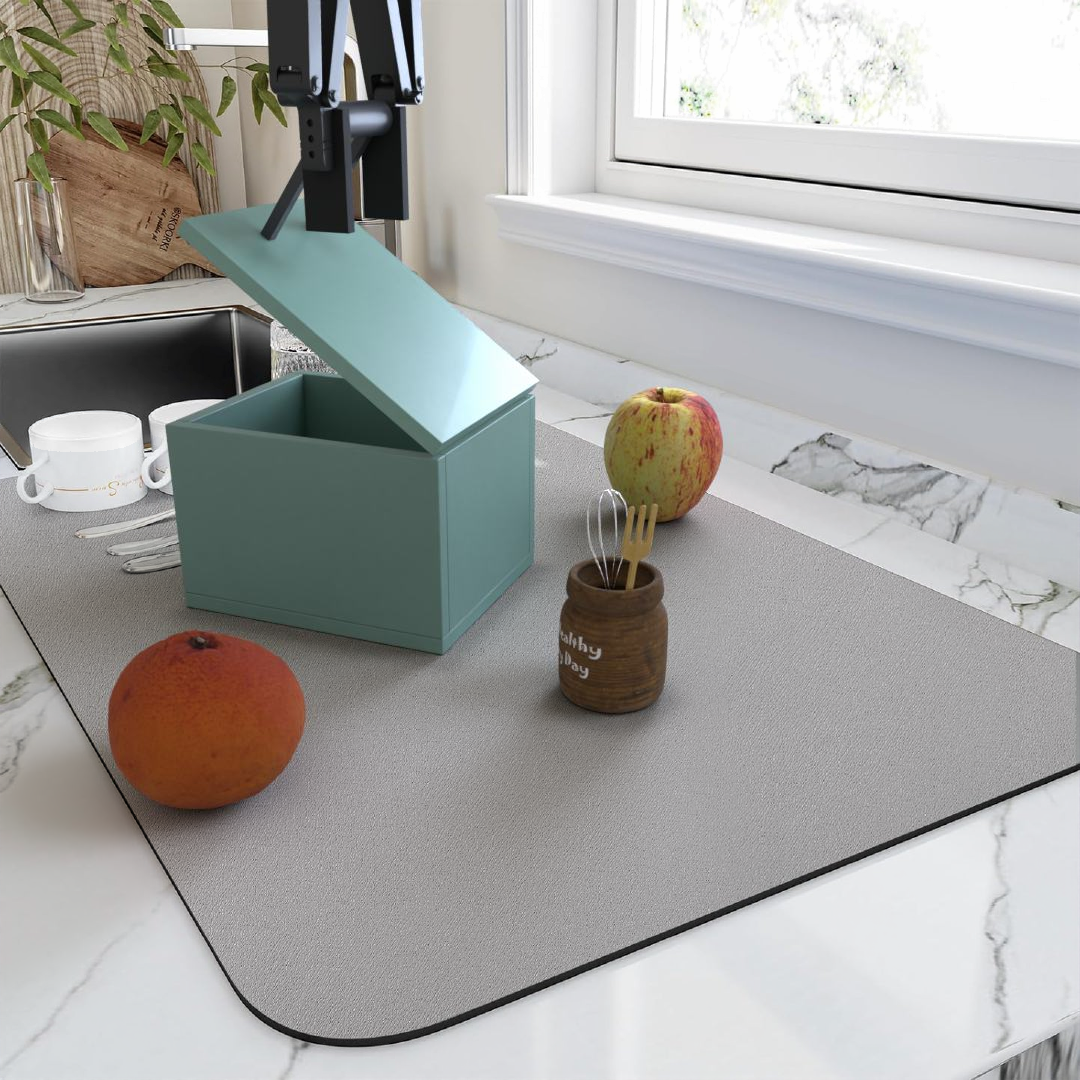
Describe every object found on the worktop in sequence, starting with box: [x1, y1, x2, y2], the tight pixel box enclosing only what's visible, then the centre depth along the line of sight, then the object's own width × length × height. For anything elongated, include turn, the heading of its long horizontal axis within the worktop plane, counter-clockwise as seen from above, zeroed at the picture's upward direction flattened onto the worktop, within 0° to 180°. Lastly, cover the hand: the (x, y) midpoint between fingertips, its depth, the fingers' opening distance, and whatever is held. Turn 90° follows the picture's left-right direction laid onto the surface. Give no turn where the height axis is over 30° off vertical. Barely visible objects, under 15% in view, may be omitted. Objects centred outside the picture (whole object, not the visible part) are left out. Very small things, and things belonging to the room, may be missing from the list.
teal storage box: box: [164, 369, 536, 655], centre depth 75 cm, size 18×15×12 cm
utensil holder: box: [557, 489, 669, 714], centre depth 62 cm, size 6×6×12 cm
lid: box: [176, 99, 540, 456], centre depth 68 cm, size 19×15×10 cm
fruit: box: [107, 629, 306, 810], centre depth 54 cm, size 9×9×8 cm
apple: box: [603, 386, 724, 523], centre depth 88 cm, size 9×9×10 cm
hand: (359, 224), depth 68 cm, fingers closed on lid, 6 cm apart
